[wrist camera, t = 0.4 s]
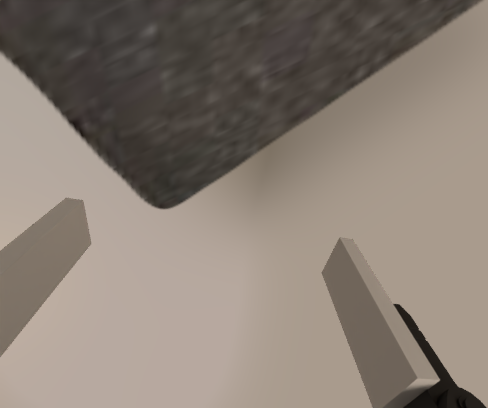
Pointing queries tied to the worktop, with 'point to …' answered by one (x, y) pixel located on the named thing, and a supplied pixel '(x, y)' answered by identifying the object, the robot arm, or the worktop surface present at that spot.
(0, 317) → the robot arm
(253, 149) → the worktop surface
